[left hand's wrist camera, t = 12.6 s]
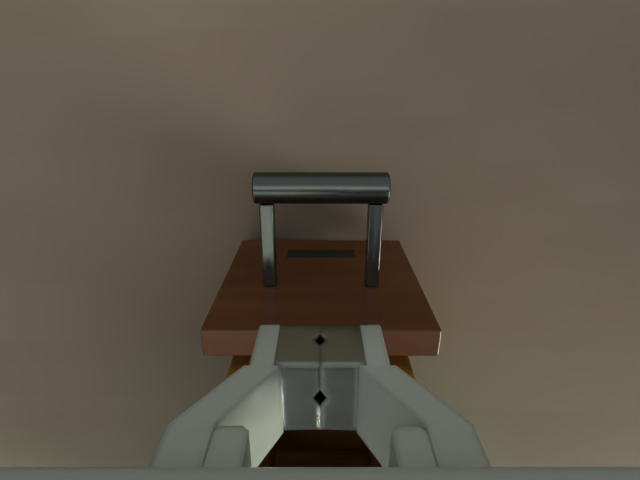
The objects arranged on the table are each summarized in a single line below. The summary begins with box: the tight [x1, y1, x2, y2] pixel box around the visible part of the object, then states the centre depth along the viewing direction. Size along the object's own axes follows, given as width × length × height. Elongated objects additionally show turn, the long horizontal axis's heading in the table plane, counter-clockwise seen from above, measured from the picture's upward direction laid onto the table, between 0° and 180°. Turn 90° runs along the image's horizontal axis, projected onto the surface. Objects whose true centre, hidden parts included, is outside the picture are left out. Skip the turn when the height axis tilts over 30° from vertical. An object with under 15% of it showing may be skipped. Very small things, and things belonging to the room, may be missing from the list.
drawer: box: [200, 172, 442, 467], centre depth 22 cm, size 22×9×9 cm, turn 0°
